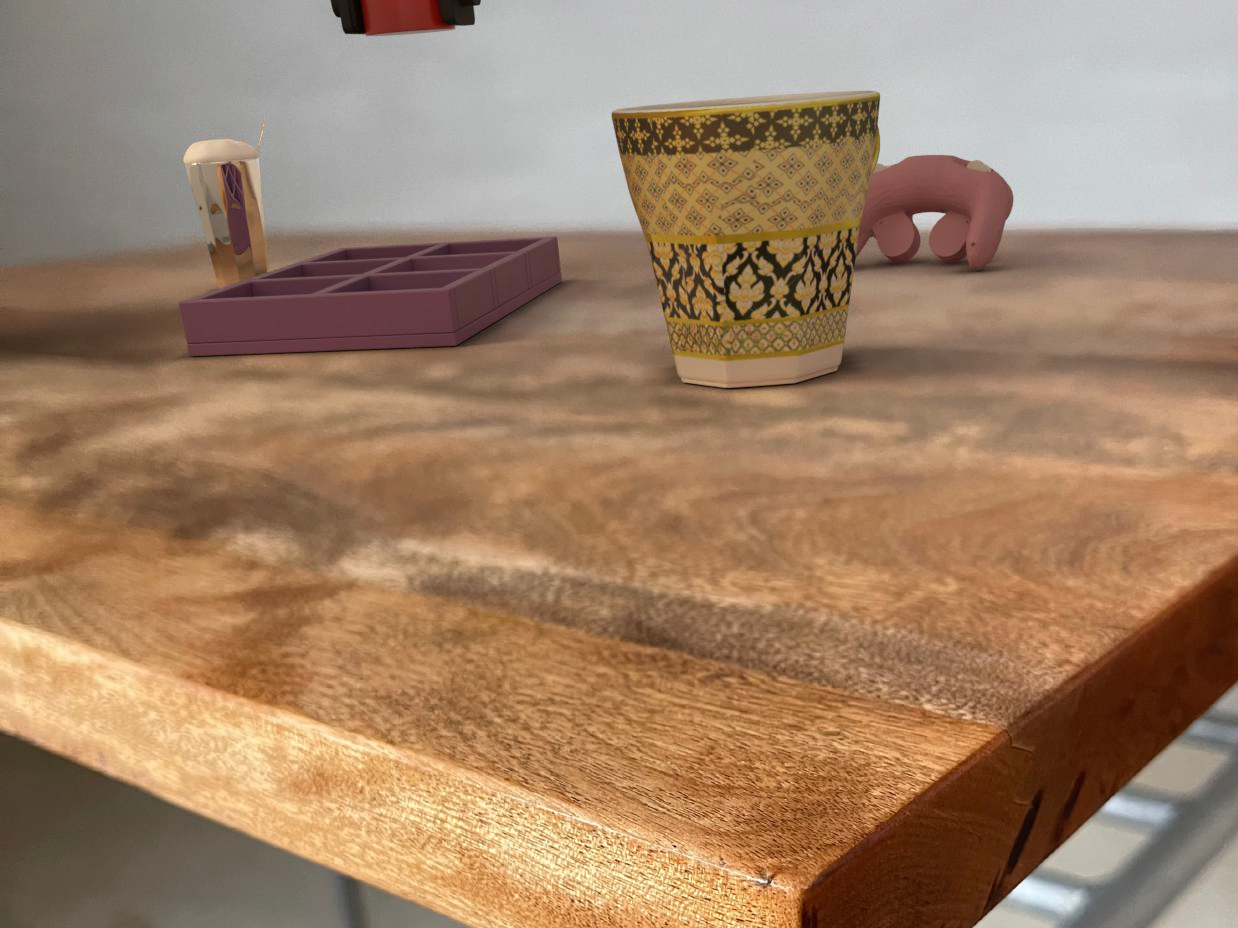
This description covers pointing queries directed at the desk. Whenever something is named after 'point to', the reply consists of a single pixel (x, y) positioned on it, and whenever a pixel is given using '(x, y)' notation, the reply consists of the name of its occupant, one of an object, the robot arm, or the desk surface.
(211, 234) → the milkshake
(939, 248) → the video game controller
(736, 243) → the ceramic cup
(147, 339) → the desk surface
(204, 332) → the purple compartment tray
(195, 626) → the desk surface
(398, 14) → the red cylinder
